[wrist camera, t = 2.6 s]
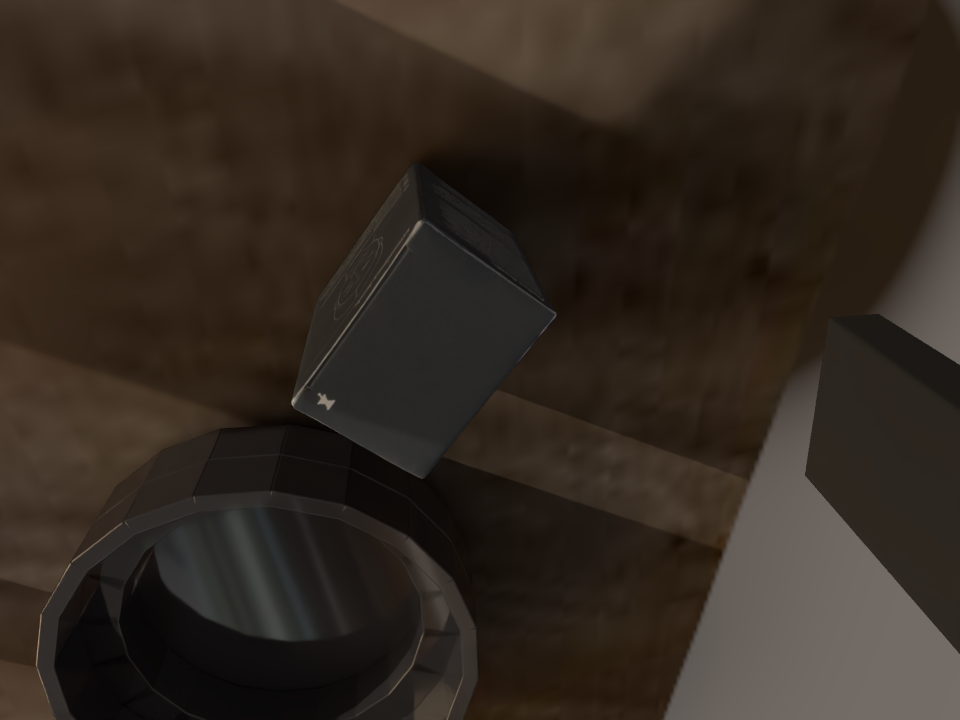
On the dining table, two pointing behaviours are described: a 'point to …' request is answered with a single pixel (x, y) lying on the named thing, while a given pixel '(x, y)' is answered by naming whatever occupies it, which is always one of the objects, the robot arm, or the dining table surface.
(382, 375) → the box
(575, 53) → the dining table surface
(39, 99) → the dining table surface
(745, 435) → the dining table surface
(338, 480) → the bowl
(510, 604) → the dining table surface
